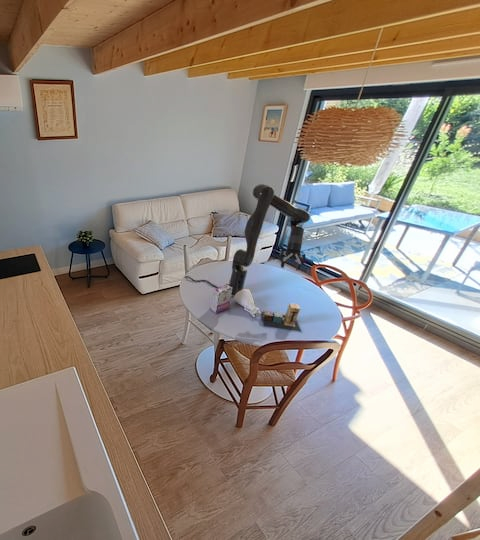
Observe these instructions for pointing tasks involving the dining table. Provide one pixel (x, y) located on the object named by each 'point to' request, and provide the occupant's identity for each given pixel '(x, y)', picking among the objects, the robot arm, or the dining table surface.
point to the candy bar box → (221, 298)
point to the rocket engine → (246, 301)
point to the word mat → (282, 324)
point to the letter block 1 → (267, 316)
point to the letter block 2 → (277, 317)
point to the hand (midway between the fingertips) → (289, 269)
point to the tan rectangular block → (292, 313)
